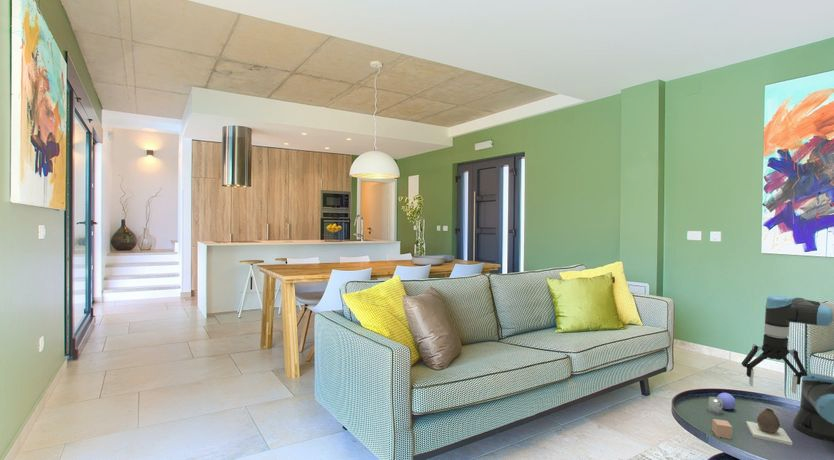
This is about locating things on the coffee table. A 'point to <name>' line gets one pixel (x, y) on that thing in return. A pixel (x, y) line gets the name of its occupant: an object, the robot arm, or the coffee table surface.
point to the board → (768, 434)
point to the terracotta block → (722, 428)
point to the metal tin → (715, 405)
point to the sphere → (727, 400)
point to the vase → (768, 421)
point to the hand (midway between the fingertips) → (771, 388)
